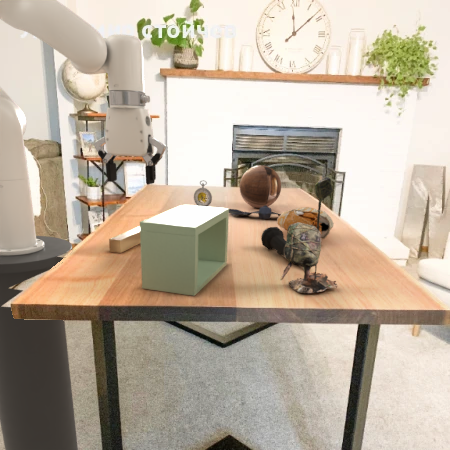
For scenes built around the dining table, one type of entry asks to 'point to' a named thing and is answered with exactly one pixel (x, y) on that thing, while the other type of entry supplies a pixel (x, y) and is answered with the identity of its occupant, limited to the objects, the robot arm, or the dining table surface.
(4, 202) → the robot arm
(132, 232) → the stick
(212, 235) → the shelf
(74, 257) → the dining table surface
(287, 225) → the nautilus
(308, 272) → the plant with pod
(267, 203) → the wooden sphere
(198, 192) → the pocket watch
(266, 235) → the microphone
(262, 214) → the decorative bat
